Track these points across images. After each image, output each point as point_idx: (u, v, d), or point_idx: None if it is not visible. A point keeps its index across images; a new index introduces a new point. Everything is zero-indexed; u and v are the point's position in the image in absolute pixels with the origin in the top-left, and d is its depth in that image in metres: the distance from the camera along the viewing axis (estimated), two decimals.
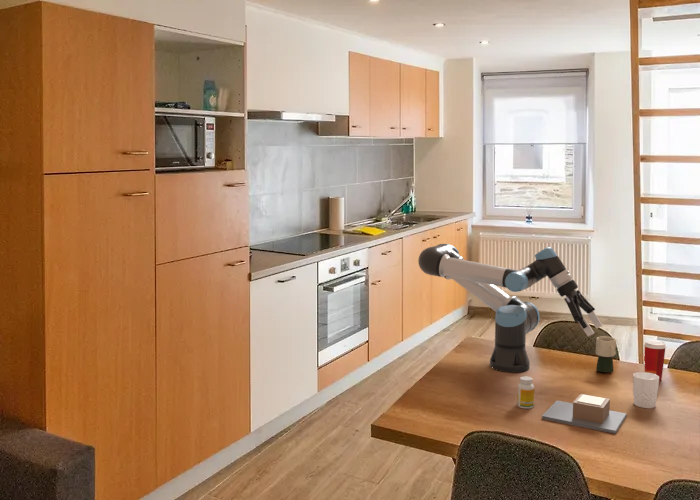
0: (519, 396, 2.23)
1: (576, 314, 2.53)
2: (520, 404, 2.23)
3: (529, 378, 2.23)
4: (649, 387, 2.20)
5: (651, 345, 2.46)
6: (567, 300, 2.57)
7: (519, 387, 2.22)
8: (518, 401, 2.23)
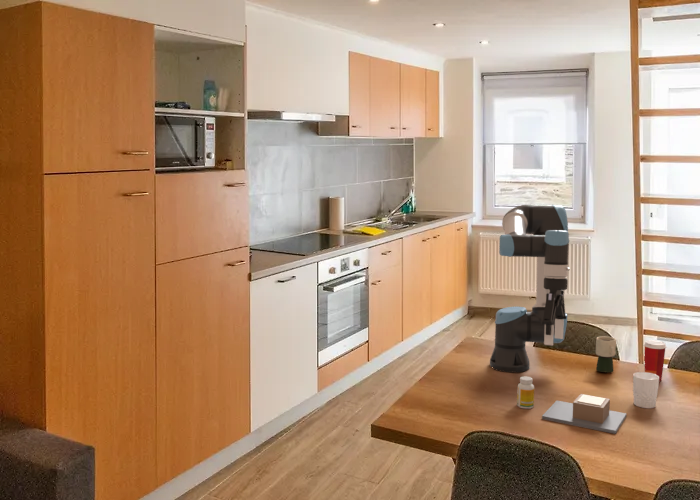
0: (519, 396, 2.23)
1: (548, 317, 2.15)
2: (520, 404, 2.23)
3: (529, 378, 2.23)
4: (649, 387, 2.20)
5: (651, 345, 2.46)
6: (548, 297, 2.17)
7: (519, 387, 2.22)
8: (518, 401, 2.23)
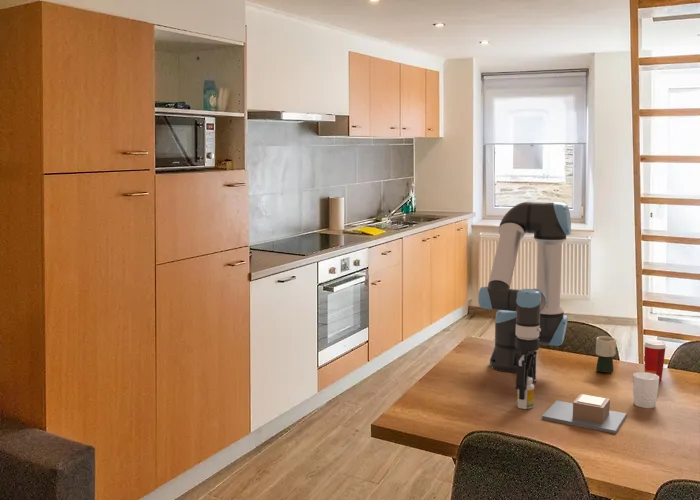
0: None
1: (521, 384, 2.18)
2: None
3: (529, 378, 2.23)
4: (649, 387, 2.20)
5: (651, 345, 2.46)
6: (519, 364, 2.17)
7: None
8: None
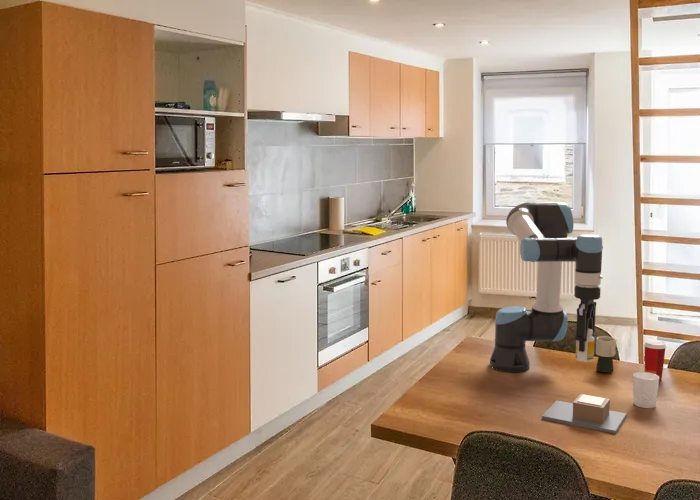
0: None
1: (581, 334, 2.05)
2: None
3: (589, 329, 2.10)
4: (649, 387, 2.20)
5: (651, 345, 2.46)
6: (579, 313, 2.04)
7: None
8: (577, 354, 2.11)
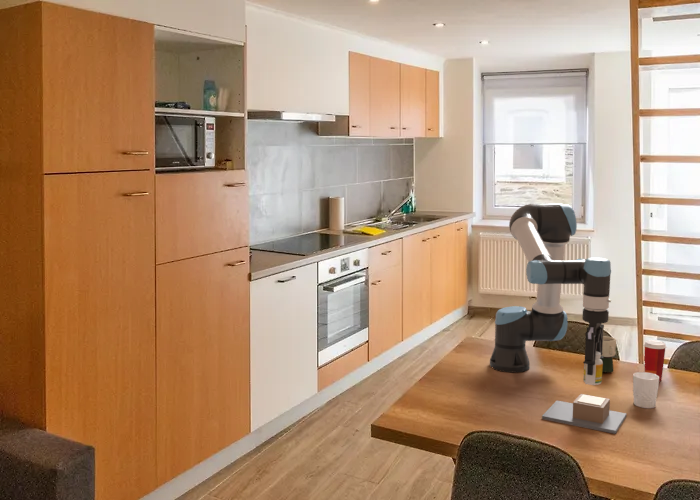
0: None
1: (590, 358, 2.05)
2: None
3: (597, 352, 2.10)
4: (649, 387, 2.20)
5: (651, 345, 2.46)
6: (588, 337, 2.04)
7: None
8: (585, 377, 2.10)
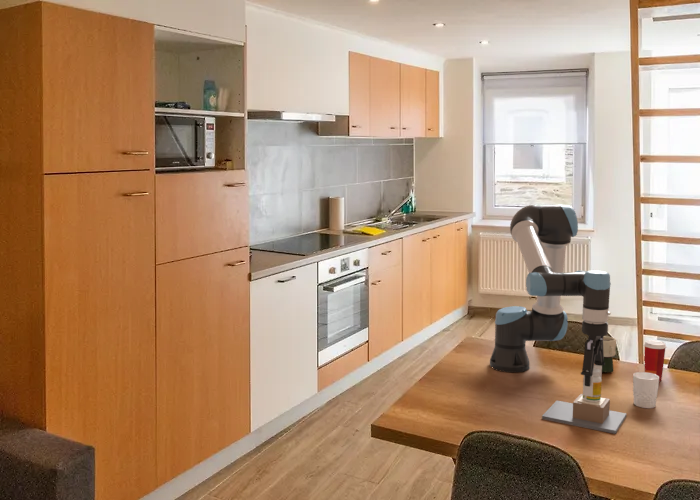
0: None
1: (588, 369, 2.03)
2: (587, 397, 2.10)
3: (596, 370, 2.11)
4: (649, 387, 2.20)
5: (651, 345, 2.46)
6: (587, 346, 2.04)
7: None
8: None
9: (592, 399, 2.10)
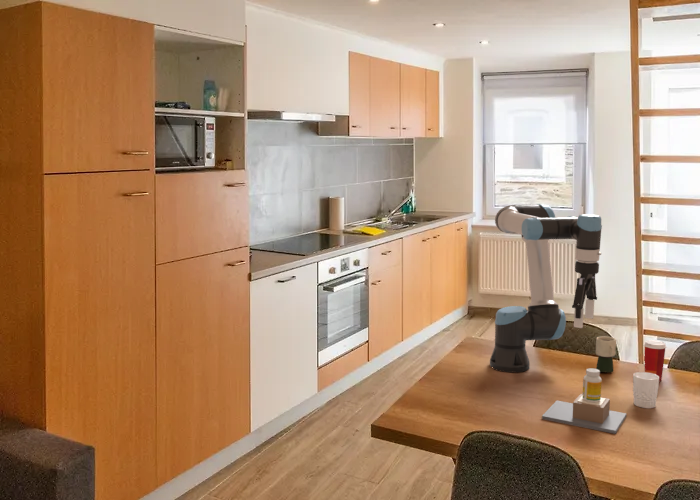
0: (585, 389, 2.10)
1: (578, 302, 2.20)
2: (587, 397, 2.10)
3: (596, 370, 2.11)
4: (649, 387, 2.20)
5: (651, 345, 2.46)
6: (579, 282, 2.22)
7: (585, 379, 2.10)
8: (584, 394, 2.11)
9: (592, 399, 2.10)
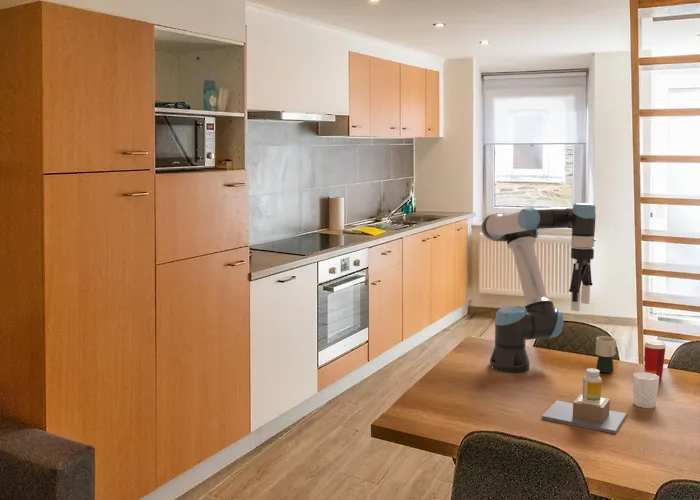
0: (585, 389, 2.10)
1: (575, 285, 2.31)
2: (587, 397, 2.10)
3: (596, 370, 2.11)
4: (649, 387, 2.20)
5: (651, 345, 2.46)
6: (575, 267, 2.33)
7: (585, 379, 2.10)
8: (584, 394, 2.11)
9: (592, 399, 2.10)
